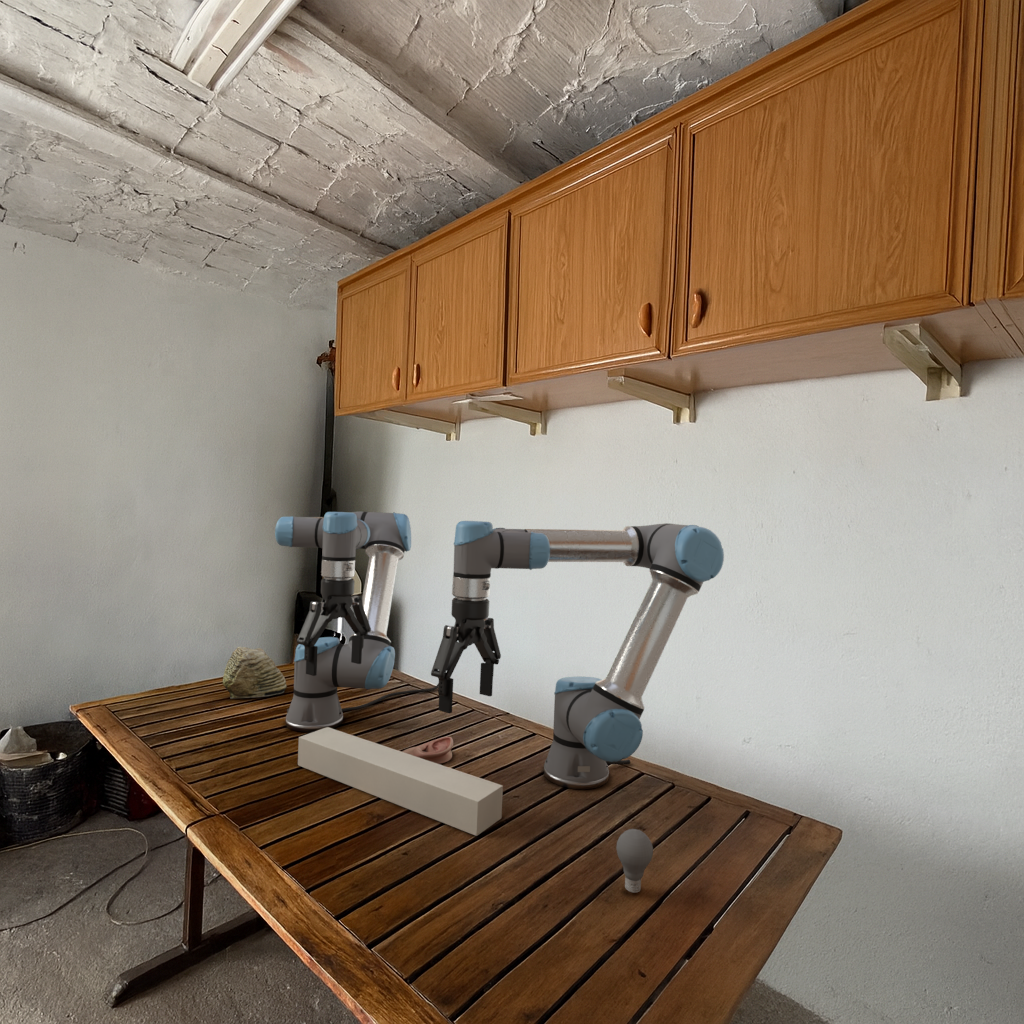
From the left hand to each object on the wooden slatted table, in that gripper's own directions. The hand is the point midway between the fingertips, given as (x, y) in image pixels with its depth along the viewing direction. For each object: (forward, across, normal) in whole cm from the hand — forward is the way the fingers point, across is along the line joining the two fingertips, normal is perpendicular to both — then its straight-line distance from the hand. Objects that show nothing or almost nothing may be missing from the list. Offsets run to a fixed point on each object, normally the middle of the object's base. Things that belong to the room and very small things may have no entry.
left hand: (334, 668), depth 148 cm
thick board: (+23, 0, -19) cm, 30 cm away
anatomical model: (+23, +18, -14) cm, 32 cm away
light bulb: (+23, -2, -76) cm, 79 cm away
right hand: (0, 0, -38) cm, 38 cm away
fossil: (+23, +21, +59) cm, 67 cm away
